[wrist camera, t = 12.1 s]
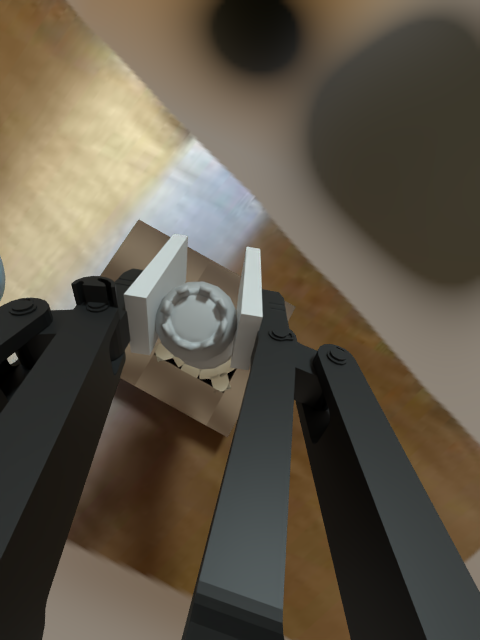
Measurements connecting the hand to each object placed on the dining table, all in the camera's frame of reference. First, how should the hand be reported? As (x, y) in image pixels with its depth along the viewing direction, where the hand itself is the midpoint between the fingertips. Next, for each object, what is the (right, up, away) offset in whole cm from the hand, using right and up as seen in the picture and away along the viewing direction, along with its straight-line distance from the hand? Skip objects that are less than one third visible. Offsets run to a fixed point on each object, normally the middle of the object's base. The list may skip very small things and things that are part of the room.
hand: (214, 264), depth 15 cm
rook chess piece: (-1, -4, +3) cm, 5 cm away
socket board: (-4, -4, +12) cm, 13 cm away
